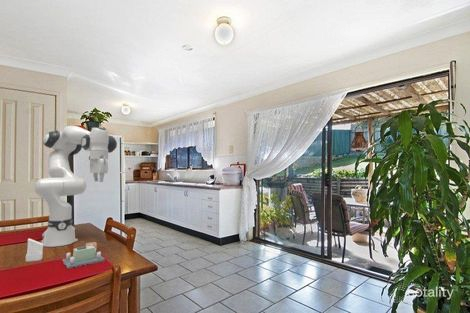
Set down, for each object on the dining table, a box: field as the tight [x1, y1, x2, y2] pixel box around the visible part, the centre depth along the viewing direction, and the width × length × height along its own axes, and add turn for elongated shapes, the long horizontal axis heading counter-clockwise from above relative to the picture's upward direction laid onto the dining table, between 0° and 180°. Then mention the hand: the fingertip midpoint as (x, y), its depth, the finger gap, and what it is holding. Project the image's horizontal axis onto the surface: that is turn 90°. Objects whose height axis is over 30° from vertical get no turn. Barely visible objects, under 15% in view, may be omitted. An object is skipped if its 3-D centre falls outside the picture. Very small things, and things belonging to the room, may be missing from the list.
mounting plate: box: [61, 248, 106, 270], centre depth 124 cm, size 13×15×4 cm
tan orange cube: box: [85, 241, 98, 250], centre depth 137 cm, size 5×5×5 cm
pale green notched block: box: [72, 245, 95, 262], centre depth 124 cm, size 5×8×6 cm, turn 133°
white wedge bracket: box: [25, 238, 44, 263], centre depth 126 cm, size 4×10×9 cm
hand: (98, 181), depth 142 cm, fingers open, 8 cm apart
